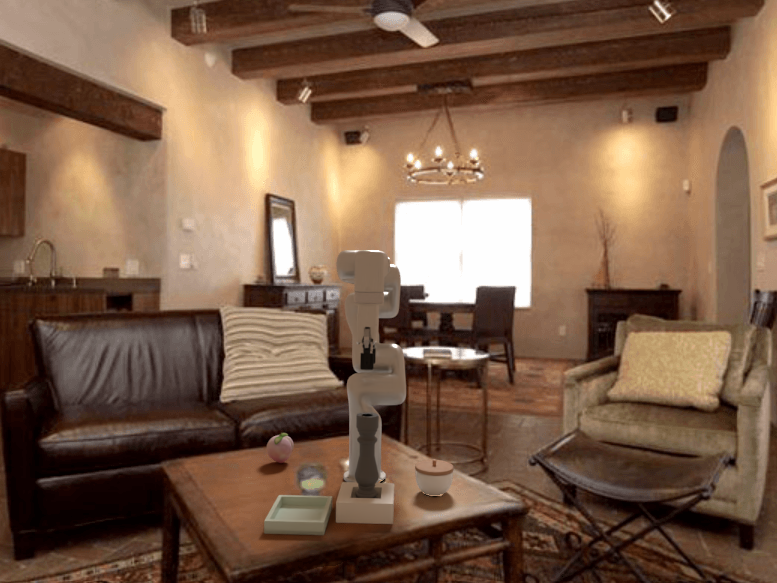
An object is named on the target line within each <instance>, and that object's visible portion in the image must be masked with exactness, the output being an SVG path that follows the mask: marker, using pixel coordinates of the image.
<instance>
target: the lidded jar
mask: <svg viewBox="0 0 777 583" xmlns="http://www.w3.org/2000/svg"><path fill="white" fill-rule="evenodd" d="M414 470H415V472H414V473H415V482H416V485H417V487H418V489H419V490H420V491H421V492H422V493H423V492H424V493H425V494H429V495H440V494H444V493H445V494H446V493H447V492H448V491H449V489H450V488H451V486H452V483H453V478H454V465H453V464H452V463H450V462H448V461H445V460H441V459H434V458H433V459H426V460H425V459H424V460H420V461H418V462H416V463H415V465H414ZM445 494H444V495H445Z"/></svg>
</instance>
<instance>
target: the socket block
mask: <svg viewBox="0 0 777 583" xmlns="http://www.w3.org/2000/svg"><path fill="white" fill-rule="evenodd" d="M358 488H359V487H358V483H357V482H346V481H341V485H340V488H339V491H338V494H337V498H336V502H335V523H337V524H341V523H342V524H343V523H344V524H373V525H374V524H378V525H380V524H381V525H393V524H394V509H395V483H393V482H382V483H376V484H375V487H374V488H375V490H376V491H377V493H378V495H377V497H378V498H355V497H356V494H355V493H356V491H357V490H358Z"/></svg>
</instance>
